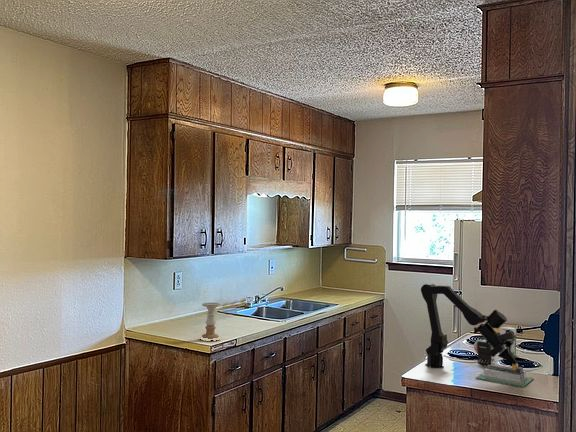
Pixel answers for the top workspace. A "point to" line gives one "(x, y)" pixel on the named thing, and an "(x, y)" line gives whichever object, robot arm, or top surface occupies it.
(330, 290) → the top surface
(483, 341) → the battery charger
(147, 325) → the top surface
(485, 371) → the green railed baseplate
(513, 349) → the syrup box
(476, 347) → the decorative fruit
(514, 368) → the wood block
